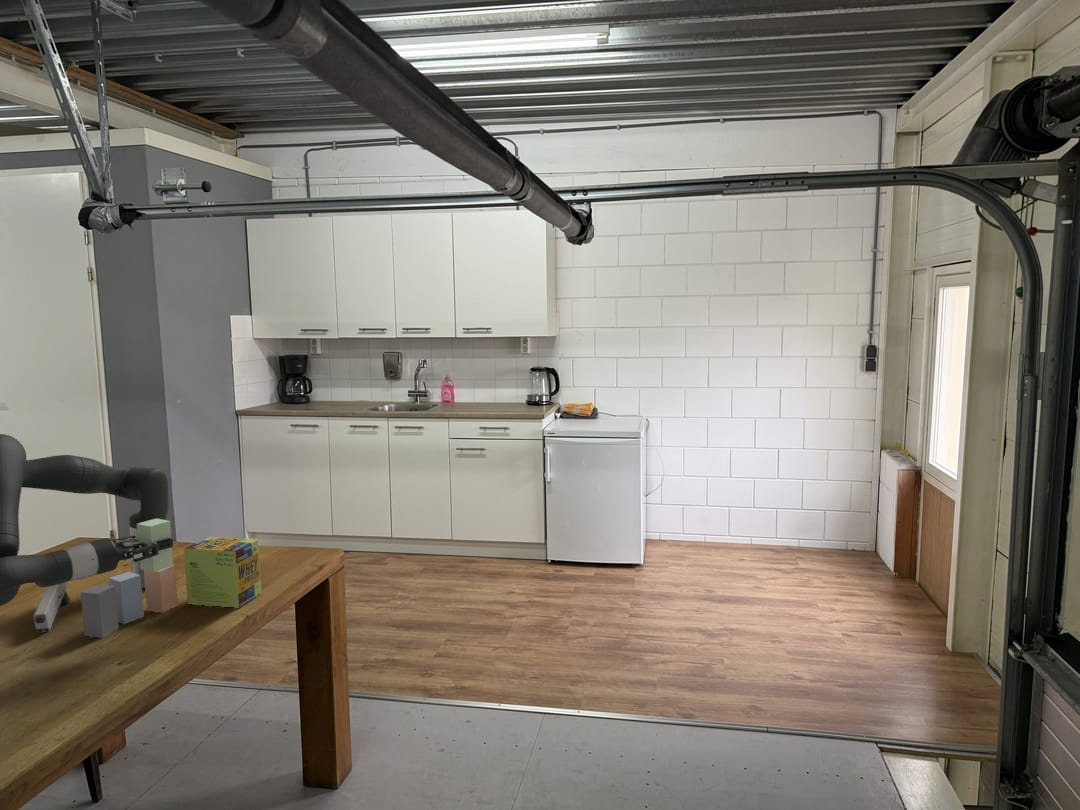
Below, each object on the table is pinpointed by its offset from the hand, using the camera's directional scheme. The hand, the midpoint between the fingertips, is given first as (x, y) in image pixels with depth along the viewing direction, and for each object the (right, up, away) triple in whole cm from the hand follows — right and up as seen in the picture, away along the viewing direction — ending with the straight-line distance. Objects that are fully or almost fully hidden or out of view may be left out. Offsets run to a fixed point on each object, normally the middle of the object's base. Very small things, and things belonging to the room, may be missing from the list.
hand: (165, 539), depth 172 cm
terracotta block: (-8, -20, +14) cm, 26 cm away
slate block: (-13, -21, +8) cm, 26 cm away
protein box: (+6, -20, +19) cm, 28 cm away
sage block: (-1, -6, -1) cm, 7 cm away
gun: (-33, -22, +10) cm, 41 cm away
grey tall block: (-15, -22, 0) cm, 27 cm away
